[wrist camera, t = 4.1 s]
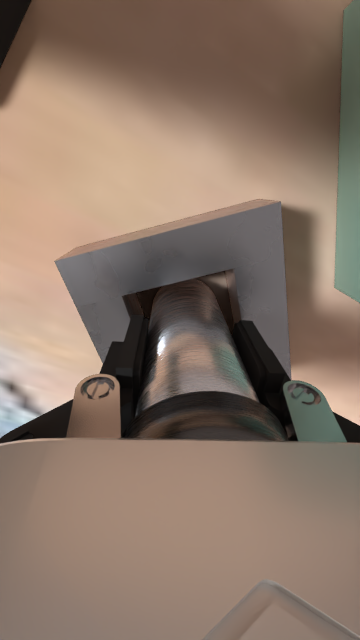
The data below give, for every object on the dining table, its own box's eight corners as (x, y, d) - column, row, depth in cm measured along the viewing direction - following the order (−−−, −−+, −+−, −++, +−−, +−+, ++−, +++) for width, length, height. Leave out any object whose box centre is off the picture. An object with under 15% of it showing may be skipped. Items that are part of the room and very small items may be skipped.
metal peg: (216, 342, 17) (295, 598, 6) (147, 339, 17) (106, 602, 6) (226, 274, 15) (368, 486, 4) (147, 270, 15) (87, 484, 4)
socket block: (273, 354, 18) (291, 384, 15) (134, 384, 19) (128, 417, 16) (258, 199, 13) (280, 201, 11) (76, 247, 14) (54, 261, 11)
